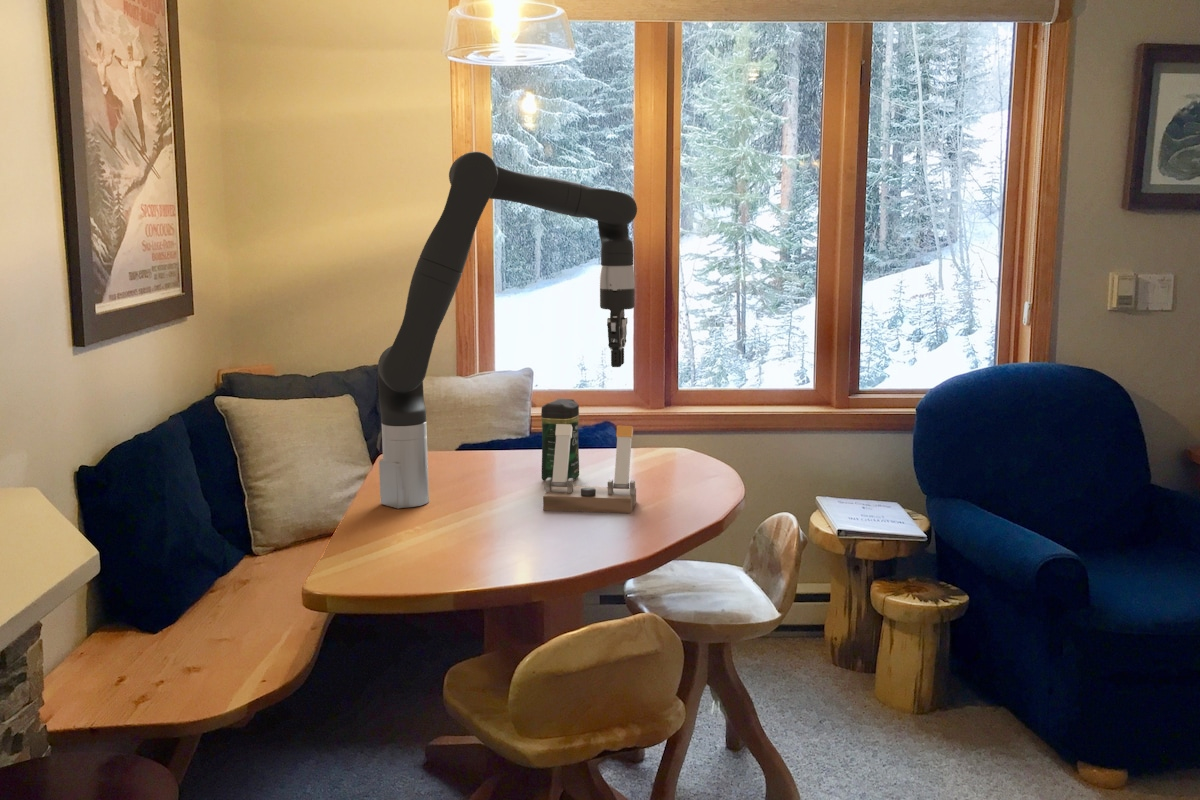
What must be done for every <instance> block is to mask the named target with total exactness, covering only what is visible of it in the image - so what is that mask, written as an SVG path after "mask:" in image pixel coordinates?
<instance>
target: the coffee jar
mask: <svg viewBox="0 0 1200 800" xmlns="http://www.w3.org/2000/svg"><path fill="white" fill-rule="evenodd" d="M579 408H580V407H579V403H578V402H576V401H575V399H572V398H571V399H570V398H557V399H555V400H553V401H551V402H549V403H546V404H544V405H543V406H541V413H540V415H541V416H540V419H541V420H540V421H541V432H542V433H541V480H542V481H543V482H545V480H546V479H547V478H551V482H552V478H553V467H554V456H555V444H556V435H555V432H556V424H571V425H572V427H573V429H572V438H571V440H570V451H569V463H568V475H567V481H568V479H569V478H573V481H575V480H576V479H578V477H579V476H580V454H579V451H580V450H579V421H580V409H579Z"/></svg>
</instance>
